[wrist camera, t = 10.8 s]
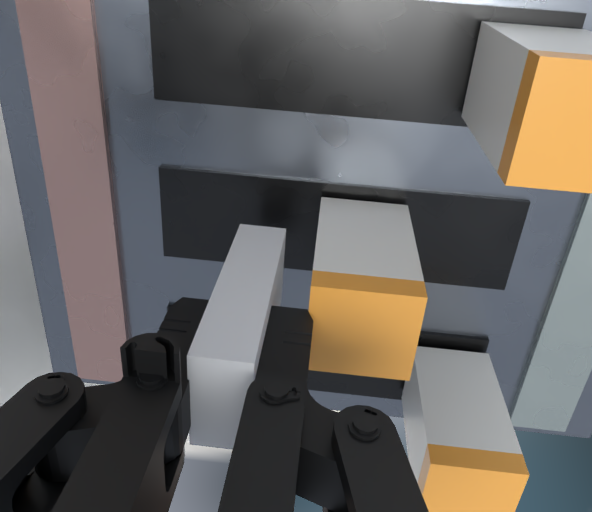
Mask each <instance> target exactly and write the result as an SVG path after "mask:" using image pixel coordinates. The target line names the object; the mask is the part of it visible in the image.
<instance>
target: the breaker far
mask: <svg viewBox="0 0 592 512" xmlns="http://www.w3.org/2000/svg"><path fill="white" fill-rule="evenodd" d="M402 407H403V416H404V425H405V433H406V443H407V452H408V460H409V463H410V465H411V468H412V470H413V473H414V475H415V478H416V481H417V483H418V486H419V488H420V491H421V493H422V496H423V498H424V501H425V503H426V506H427V508H428V511H429V512H515V510H516V507H517V505H518V502H519V500H520V497H521V495H522V492H523V490H524V487H525V485H526V482H527V480H528V478H529V472H528V469H527V467H526V463H525V461H524V457H523V455H522V452H521V448H520V446H519V443H518V440H517V437H516V434H515V431H514V428H513V425H512V422H511V419H510V416H509V413H508V410H507V407H506V404H505V401H504V398H503V395H502V392H501V389H500V386H499V383H498V380H497V377H496V374H495V371H494V368H493V365H492V362H491V359H490V356H489V354H488V353H478V352H469V351H459V350H450V349H440V348H431V347H421V346H417V350H416V354H415V359H414V363H413V368H412V373H411V377H410V381H406V380H405V384H404V389H403V393H402Z"/></svg>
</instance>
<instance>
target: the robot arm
mask: <svg viewBox="0 0 592 512" xmlns="http://www.w3.org/2000/svg"><path fill="white" fill-rule="evenodd" d="M285 239H286V229H285V228H275V227H265V226H256V225H246V224H240V225H239V228H238V230H237V233H236V235H235V238H234V240H233V243H232V245H231V248H230V250H229V253H228V255H227V258H226V260H225V262H224V265H223V267H222V270H221V272H220V275H219V277H218V280H217V282H216V285H215V287H214V290H213V292H212V295H211V297H210V299H209V300H206V299H197V298H187V297H182V298H181V299H179V300H178V301H177V302H175V303H174V304H173V305H171V306H170V307H169V309H168V311H167V313H166V315H165V317H164V321H162V323H161V325H160V327H159V331H157V333H145V334H141V335H137V336H134V337H132V338H131V339H129V340H127V341H126V342H125V343H124V344H123V345H122V346H121V347H120V353H121V362H122V371H123V377H122V379H121V381H118V382H115V383H111V384H106V385H98V386H90V387H84V383H83V382H82V380H81V378H80V377H78V376H76V375H74V374H72V373H66V372H55V373H48V374H45V375H42V376H40V377H37V378H35V379H34V380H32V381H31V382H29V383H28V384H26V385H25V386H24V387H23V388H22V389H21V390H20V391H19V392H17V393H16V394H15V395H14V396H13V397H12V398H11V399H9V400H8V401H7V402H6V403H5V404H4V405H3V406H2V407H0V512H168V511H169V508H170V504H171V501H172V498H173V495H174V492H175V489H176V486H177V483H178V480H179V477H180V473H181V471H182V468H183V464H184V456H185V453H184V445H185V442H186V439H187V436H188V433H189V436H190V444H192V445H200V446H208V447H217V448H225V449H233V451H232V455H231V459H230V463H229V467H228V472H227V476H226V480H225V484H224V488H223V492H222V497H221V501H220V505H219V509H218V512H294V503H295V495H298V496H300V497H302V498H305V499H307V500H309V501H311V502H314V503H316V504H318V505H320V506H322V507H323V512H429V511H428V508H427V506H426V503H425V501H424V498H423V496H422V493H421V491H420V488H419V486H418V483H417V481H416V478H415V475H414V473H413V470H412V468H411V465H410V463H409V460H408V458H407V455H406V453H405V450H404V448H403V445H402V443H401V440H400V438H399V435H398V433H397V430H396V427H395V425H394V424H393V422H392V421H391V419H390V418H389V416H387V415H386V414H385V413H383V412H382V411H381V410H379V409H376V408H373V407H371V406H365V405H354V406H350V407H346V408H345V409H343V410H342V411H340V412H339V413H337V412H335V411H332V410H330V409H328V408H326V407H324V406H322V405H320V404H319V403H318V402H316V401H315V400H314V399H313V397H312V396H311V395H310V393H309V391H308V387H307V379H308V370H309V360H310V350H311V341H312V331H313V322H314V321H313V319H312V317H311V315H310V314H309V312H308V310H307V309H300V308H291V307H282V306H280V304H281V299H282V284H283V269H284V254H285Z"/></svg>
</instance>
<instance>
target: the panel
mask: <svg viewBox="0 0 592 512" xmlns="http://www.w3.org/2000/svg"><path fill="white" fill-rule="evenodd" d="M482 21H485V22H498V23H510V24H523V25H536V26H548V27H561V28H573V29H586V30H589V31H592V0H0V102H1V107H2V112H3V117H4V122H5V127H6V133H7V138H8V143H9V148H10V153H11V158H12V163H13V168H14V173H15V179H16V184H17V189H18V194H19V199H20V204H21V209H22V214H23V219H24V224H25V230H26V235H27V240H28V245H29V250H30V255H31V260H32V265H33V270H34V276H35V281H36V286H37V291H38V296H39V301H40V306H41V311H42V316H43V322H44V327H45V332H46V337H47V342H48V347H49V352H50V357H51V362H52V367H53V373H55V372H66V373H72V374H74V375H76V376H78V377H80V378H81V380H82V382H87V383H96V384H105V385H106V384H111V383H115V382H118V381H121V379H122V377H123V371H122V362H121V353H120V347H121V346H122V345H123V344H124V343H125V342H126V341H127V340H129V339H131V338H132V337H134V336H137V335H141V334H145V333H157V331H159V327H160V325H161V323H162V321H164V317H165V315H166V313H167V311H168V309H169V307H170V306H171V305H173V304H174V303H175V302H177V301H178V300H179V299H181V298H182V297H187V298H197V299H206V300H209V299H210V297H211V295H212V292H213V290H214V287H215V285H216V282H217V280H218V277H219V275H220V272H221V270H222V267H223V265H224V262H225V260H226V258H227V255H228V253H229V250H230V248H231V245H232V243H233V240H234V238H235V235H236V233H237V230H238V228H239V225H240V224H246V225H256V226H265V227H275V228H285V229H286V239H285V254H284V269H283V284H282V299H281V304H280V306H282V307H291V308H300V309H307V310H308V311H309V300H310V289H311V280H312V272H313V263H314V255H315V246H316V238H317V229H318V221H319V212H320V204H321V197H327V198H337V199H348V200H359V201H369V202H380V203H390V204H401V205H408V208H409V213H410V218H411V222H412V227H413V232H414V236H415V241H416V246H417V250H418V255H419V259H420V264H421V269H422V273H423V278H424V283H425V287H426V292H427V297H428V299H427V304H426V308H425V313H424V317H423V322H422V327H421V331H420V336H419V340H418V345H417V346H421V347H431V348H440V349H450V350H459V351H469V352H478V353H488V354H489V356H490V359H491V362H492V365H493V368H494V371H495V374H496V377H497V380H498V383H499V386H500V389H501V392H502V395H503V398H504V401H505V404H506V407H507V410H508V413H509V416H510V419H511V422H512V425H513V428H514V430H520V431H530V432H538V433H547V434H557V435H565V436H574V437H584V438H590V436H591V434H592V193H581V192H570V191H559V190H548V189H537V188H527V187H516V186H505V184H504V183H503V181H502V180H501V178H500V176H499V175H498V173H497V172H496V170H495V169H494V167H493V165H492V164H491V162H490V161H489V159H488V157H487V156H486V154H485V153H484V151H483V150H482V148H481V146H480V145H479V143H478V142H477V140H476V139H475V137H474V135H473V134H472V132H471V131H470V129H469V128H468V126H467V124H466V123H465V121H464V120H463V118H462V117H461V116H462V111H463V106H464V102H465V97H466V92H467V87H468V83H469V78H470V73H471V69H472V64H473V59H474V55H475V50H476V45H477V40H478V36H479V31H480V26H481V22H482ZM404 384H405V380H396V379H387V378H378V377H369V376H359V375H350V374H341V373H332V372H322V371H313V370H308V379H307V387H308V391H309V393H310V395H311V396H312V397H313V399H314V400H315V401H316V402H318V403H319V404H320V405H322V406H324V407H326V408H328V409H331V410H340V411H342V410H343V409H345V408H346V407H350V406H354V405H365V406H371V407H373V408H376V409H379V410H381V411H382V412H383V413H385V414H386V415H387V416H394V417H403V418H404V416H403V407H402V393H403V389H404Z"/></svg>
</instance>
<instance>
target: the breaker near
mask: <svg viewBox="0 0 592 512" xmlns="http://www.w3.org/2000/svg"><path fill="white" fill-rule="evenodd" d="M461 117H462V118H463V120H464V121H465V123H466V124H467V126H468V128H469V129H470V131H471V132H472V134H473V135H474V137H475V139H476V140H477V142H478V143H479V145H480V146H481V148H482V150H483V151H484V153H485V154H486V156H487V157H488V159H489V161H490V162H491V164H492V165H493V167H494V169H495V170H496V172H497V173H498V175H499V176H500V178H501V180H502V181H503V183H504V184H505V186H516V187H527V188H537V189H548V190H559V191H570V192H581V193H592V31H589V30H586V29H573V28H561V27H548V26H536V25H523V24H510V23H498V22H485V21H482V22H481V26H480V31H479V36H478V40H477V45H476V50H475V55H474V59H473V64H472V69H471V73H470V78H469V83H468V87H467V92H466V97H465V102H464V106H463V111H462V116H461Z"/></svg>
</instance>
